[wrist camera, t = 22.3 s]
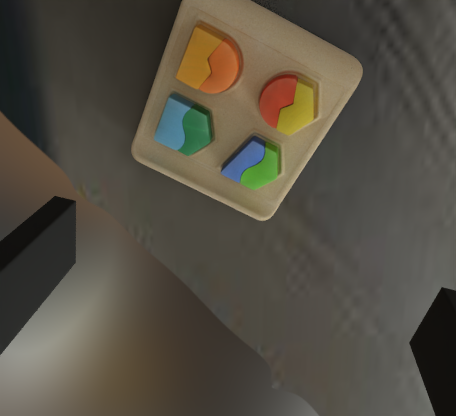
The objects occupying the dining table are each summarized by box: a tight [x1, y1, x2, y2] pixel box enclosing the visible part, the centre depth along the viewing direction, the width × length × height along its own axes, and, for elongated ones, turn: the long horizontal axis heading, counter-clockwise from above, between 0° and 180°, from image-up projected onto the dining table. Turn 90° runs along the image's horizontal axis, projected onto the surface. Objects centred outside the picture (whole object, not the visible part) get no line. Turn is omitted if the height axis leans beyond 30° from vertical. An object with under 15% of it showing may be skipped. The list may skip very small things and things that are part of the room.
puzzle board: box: [131, 0, 363, 221], centre depth 39 cm, size 18×19×4 cm
